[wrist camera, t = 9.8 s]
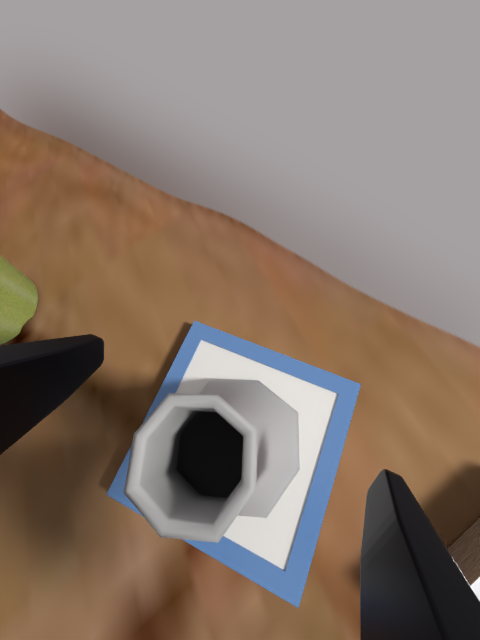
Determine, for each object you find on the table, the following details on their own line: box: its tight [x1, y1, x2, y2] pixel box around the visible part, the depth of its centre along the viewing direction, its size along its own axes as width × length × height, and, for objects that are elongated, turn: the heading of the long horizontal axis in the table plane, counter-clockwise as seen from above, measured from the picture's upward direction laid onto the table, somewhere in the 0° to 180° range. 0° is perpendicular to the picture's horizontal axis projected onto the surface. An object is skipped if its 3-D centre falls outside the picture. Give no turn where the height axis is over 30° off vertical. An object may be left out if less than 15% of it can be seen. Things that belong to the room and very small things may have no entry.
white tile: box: [106, 321, 361, 608], centre depth 16 cm, size 11×11×1 cm
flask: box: [124, 379, 300, 543], centre depth 11 cm, size 7×7×10 cm
